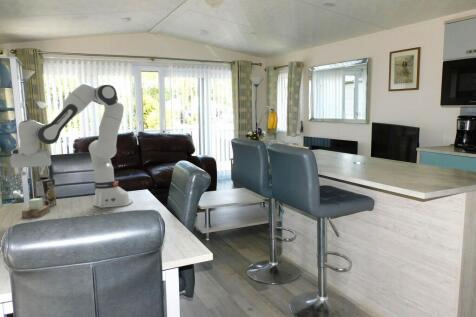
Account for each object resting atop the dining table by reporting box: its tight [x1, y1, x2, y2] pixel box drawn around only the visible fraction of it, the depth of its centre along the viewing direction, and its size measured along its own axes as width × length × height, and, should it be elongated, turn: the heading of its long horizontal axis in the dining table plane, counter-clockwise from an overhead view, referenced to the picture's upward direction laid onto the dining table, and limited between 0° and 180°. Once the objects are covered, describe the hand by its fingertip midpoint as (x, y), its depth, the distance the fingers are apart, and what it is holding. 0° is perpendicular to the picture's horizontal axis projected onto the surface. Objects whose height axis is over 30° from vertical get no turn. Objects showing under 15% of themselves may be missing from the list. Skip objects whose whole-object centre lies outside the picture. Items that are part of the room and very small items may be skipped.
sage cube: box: [28, 197, 43, 210], centre depth 202 cm, size 5×5×5 cm
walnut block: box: [21, 206, 50, 218], centre depth 202 cm, size 10×10×4 cm
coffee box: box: [35, 178, 57, 208], centre depth 221 cm, size 9×6×16 cm
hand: (32, 174), depth 200 cm, fingers open, 8 cm apart
